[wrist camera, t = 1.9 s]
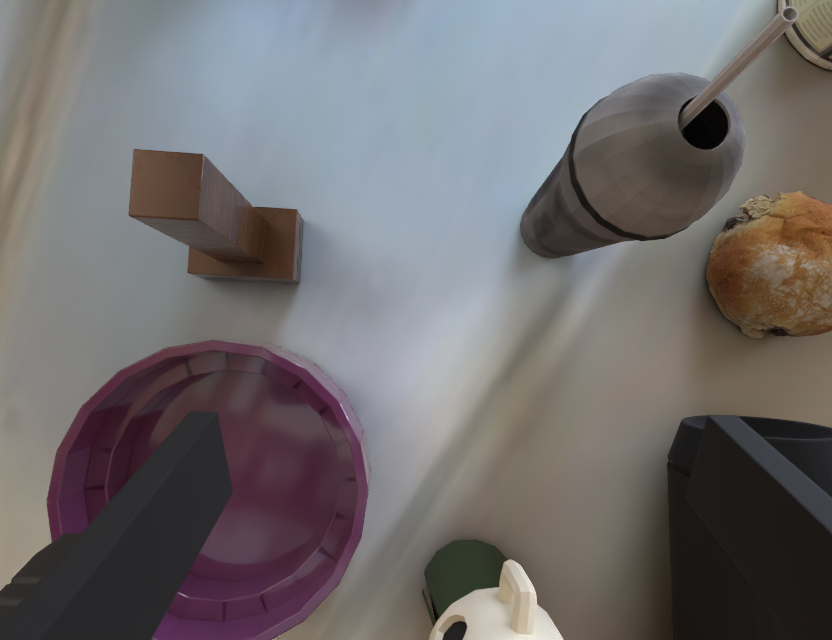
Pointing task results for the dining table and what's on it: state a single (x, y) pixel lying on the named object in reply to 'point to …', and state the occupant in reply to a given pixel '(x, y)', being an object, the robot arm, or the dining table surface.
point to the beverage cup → (645, 159)
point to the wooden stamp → (214, 219)
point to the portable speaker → (701, 552)
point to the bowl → (232, 479)
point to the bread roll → (775, 266)
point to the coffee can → (811, 30)
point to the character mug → (483, 596)
